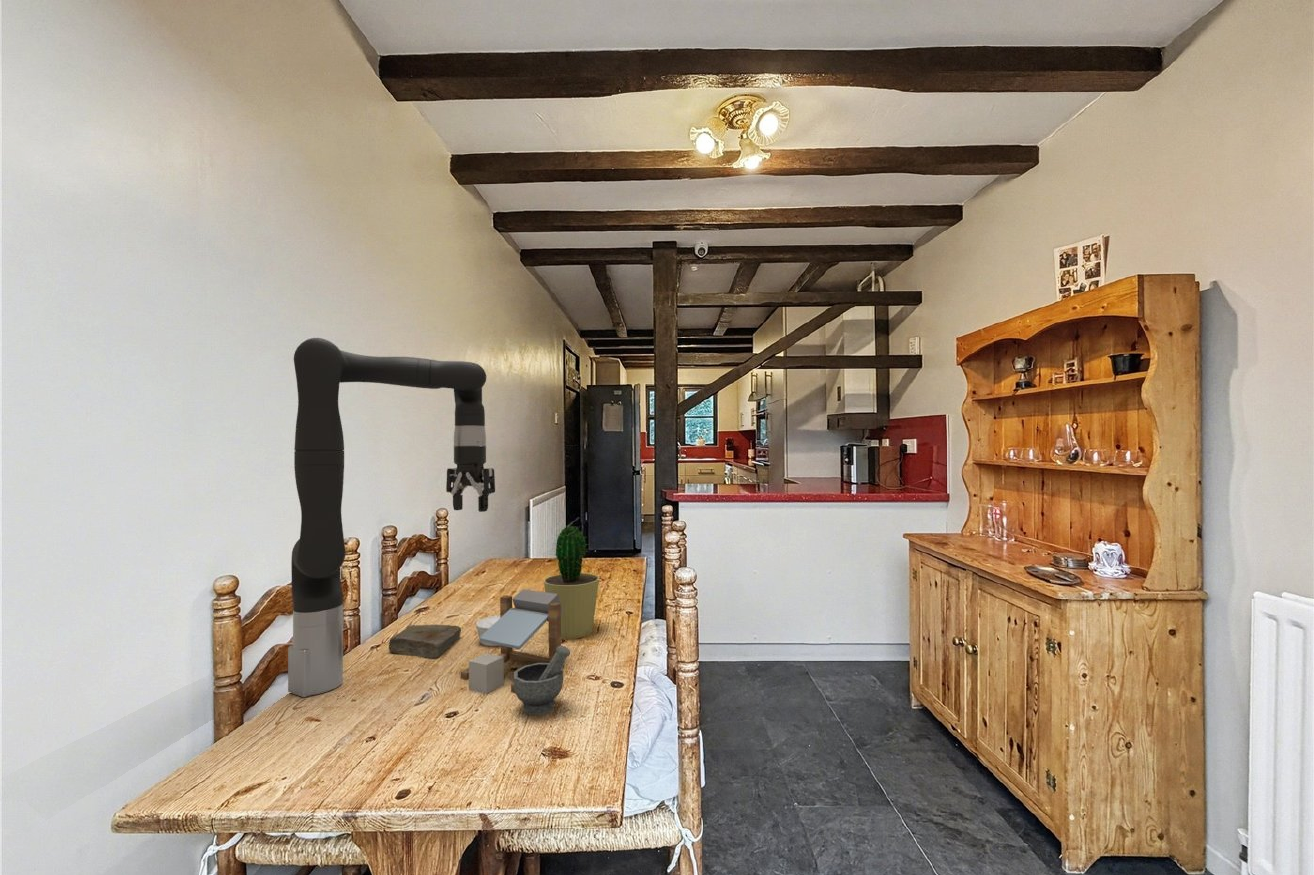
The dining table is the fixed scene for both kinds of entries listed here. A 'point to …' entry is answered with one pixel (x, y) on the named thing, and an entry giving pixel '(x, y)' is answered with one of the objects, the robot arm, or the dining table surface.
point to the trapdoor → (521, 619)
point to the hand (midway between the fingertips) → (470, 510)
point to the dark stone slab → (424, 640)
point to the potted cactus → (573, 585)
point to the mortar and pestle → (540, 683)
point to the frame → (510, 654)
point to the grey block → (486, 673)
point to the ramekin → (486, 627)
